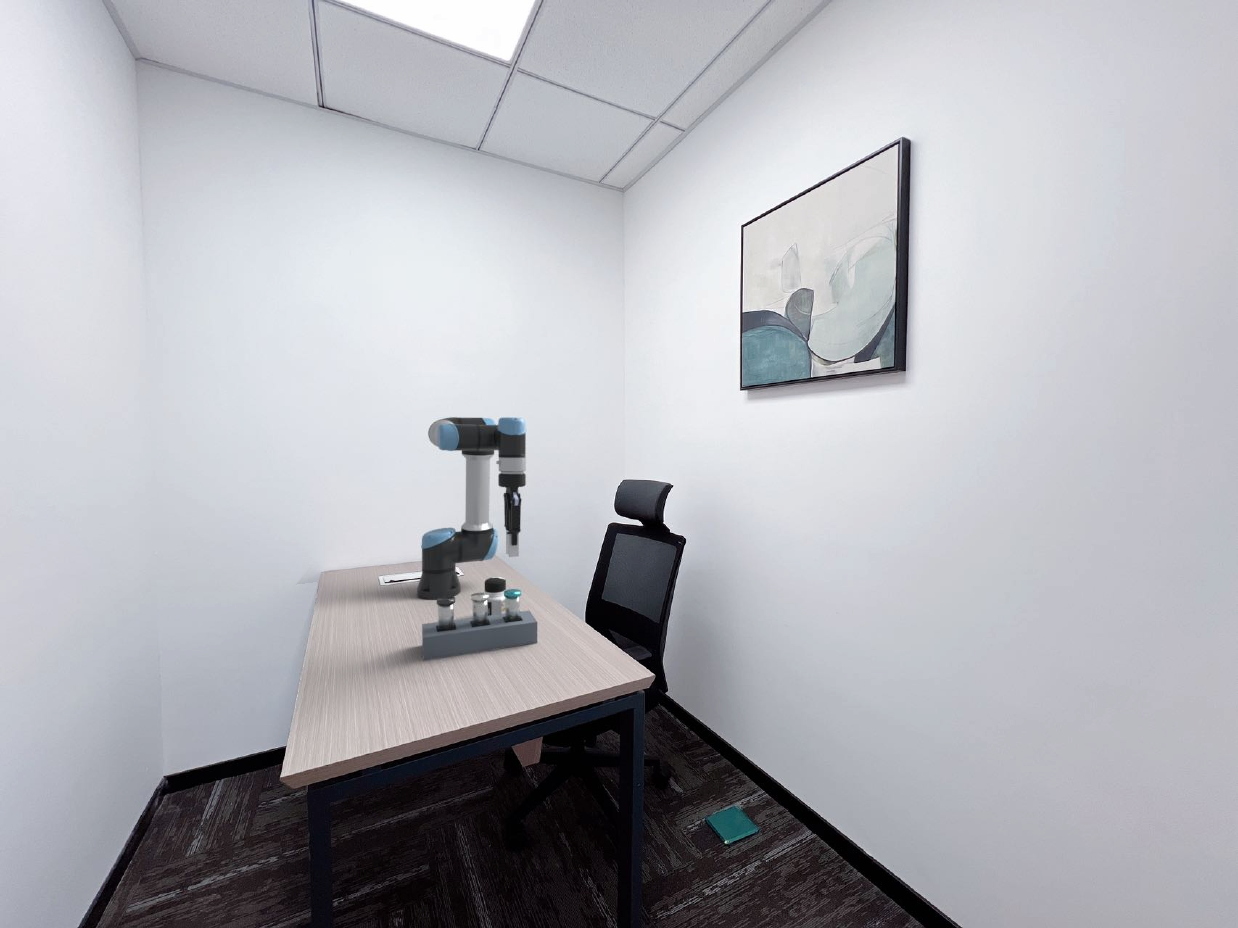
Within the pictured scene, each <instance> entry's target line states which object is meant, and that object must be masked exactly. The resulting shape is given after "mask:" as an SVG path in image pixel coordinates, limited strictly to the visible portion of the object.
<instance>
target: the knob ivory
mask: <svg viewBox="0 0 1238 928" xmlns="http://www.w3.org/2000/svg"><path fill="white" fill-rule="evenodd" d="M488 599H489V594H488V593H485V592H475V593H473V594H471V596H470V600H471V601H472V618H473V626H474V627H479V626H486V625H488V602H487V600H488Z"/></svg>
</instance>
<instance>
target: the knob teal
mask: <svg viewBox="0 0 1238 928" xmlns="http://www.w3.org/2000/svg"><path fill="white" fill-rule="evenodd" d="M521 596H522V590H521V589H519V588H518V589H517V588H510V589H506V591H504V597H505V621H506V622H507V623H509V622H516V621H520V612H521V611H520V609H521V607H520V606H521V601H520V597H521Z"/></svg>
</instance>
